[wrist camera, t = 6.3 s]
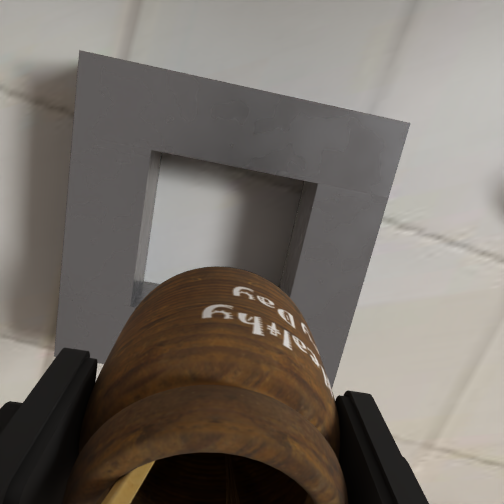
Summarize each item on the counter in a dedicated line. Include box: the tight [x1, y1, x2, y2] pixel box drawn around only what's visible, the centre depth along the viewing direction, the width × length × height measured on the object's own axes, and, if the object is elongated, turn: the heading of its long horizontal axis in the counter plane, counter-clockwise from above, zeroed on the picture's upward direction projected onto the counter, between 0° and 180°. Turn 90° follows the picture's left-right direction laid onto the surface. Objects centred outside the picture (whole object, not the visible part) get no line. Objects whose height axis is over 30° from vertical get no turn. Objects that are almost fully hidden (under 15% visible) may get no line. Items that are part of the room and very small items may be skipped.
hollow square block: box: [54, 50, 410, 389], centre depth 26 cm, size 17×17×4 cm
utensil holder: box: [62, 267, 349, 504], centre depth 8 cm, size 6×6×12 cm
